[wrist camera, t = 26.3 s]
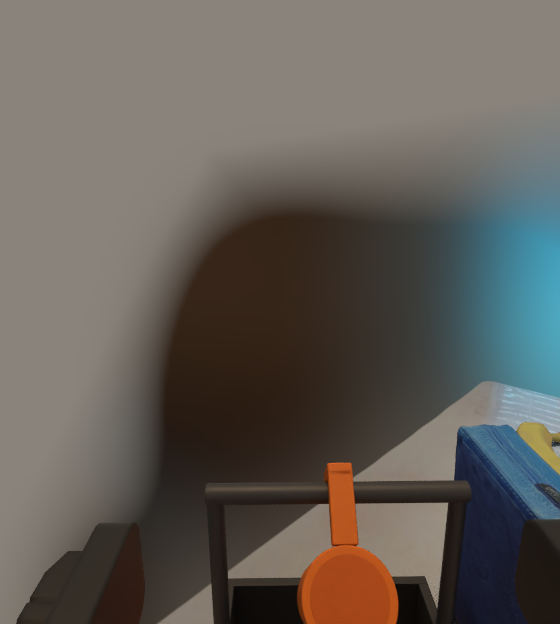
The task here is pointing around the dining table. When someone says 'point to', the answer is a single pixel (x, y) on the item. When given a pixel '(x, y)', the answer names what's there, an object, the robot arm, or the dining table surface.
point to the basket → (283, 591)
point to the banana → (541, 442)
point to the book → (498, 518)
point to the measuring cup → (346, 568)
